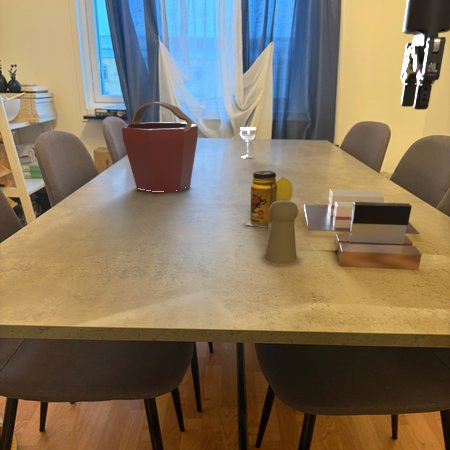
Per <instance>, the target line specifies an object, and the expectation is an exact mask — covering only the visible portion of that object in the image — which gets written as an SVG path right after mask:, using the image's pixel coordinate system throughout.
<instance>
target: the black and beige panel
mask: <svg viewBox="0 0 450 450" xmlns="http://www.w3.org/2000/svg"><path fill="white" fill-rule="evenodd" d="M412 208H413V207H412V205H411V204H410V203H409V202H407V203H405V202H404V203H403V202H383V203H374V202H354V203H353V210H352V218H351V221H352V223H351V230H350V232H349V234H350V237H349V244H371V245H397V246H403V242H404V237H405V236H406V234H405V232H406V227H407V225H408V223H409V222H410V217H411V213H412Z"/></svg>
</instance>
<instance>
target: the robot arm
mask: <svg viewBox="0 0 450 450" xmlns="http://www.w3.org/2000/svg"><path fill="white" fill-rule="evenodd" d="M404 11H405V13H404V18H403V24H402V25H403V26H402V32H403V34H404V35H413V39H412V42H407V43H406V45H405V51H404V57H403V63H402V70H401V73H400V74H401V75H400V80H401V81H402V84H403V87H402V95H401V101H400V106H401V107H404V108H406V107H407V108H408V107H409V108H410V107H413V109H414V110H417V111H419V110H427V109H428V108H429V105H430V101H431V100H430V99H431V94H432V88H433V85H434V84H435V83H436V81H439V79H440V76H441V69H442V64H443V57H444V53H445V46H446V42H447V39H446V38H447V37H446V36H439V34H443V33H448V32H450V0H406V4H405V10H404Z"/></svg>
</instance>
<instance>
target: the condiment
mask: <svg viewBox="0 0 450 450" xmlns="http://www.w3.org/2000/svg"><path fill="white" fill-rule="evenodd" d="M276 177H277V174H276V172H275V171H273V170H257V171H254V172H253V173H252V183H251V186H250V218H249V219H250V220H248V221H247V222H246V223H244V225H246V226H252V227H258V228H259V227H260V228H269V224H270V223H272V218H271V216H270V206H271V205H272V203H274V202H276V197H277V185H276V180H277V179H276Z"/></svg>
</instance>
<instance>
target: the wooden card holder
mask: <svg viewBox="0 0 450 450" xmlns="http://www.w3.org/2000/svg"><path fill="white" fill-rule="evenodd" d="M349 237H350V233H335V238H334V245H335V248H336V249H335V254H336V255H337V260H338V263H339V266H340V267H346V268H367V269H368V268H369V269H370V268H371V269H394V270H411V271H412V270H415V271H418V270H419V268H420V264H421V259H422V253H421V251H419V249H418V248H417V247H416V245H413V244H414V243H413V241H412V240H411V239H410V238H409V237H408V236H407V235H405V237H404V242H403V246H397V245H371V244H349Z"/></svg>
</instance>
